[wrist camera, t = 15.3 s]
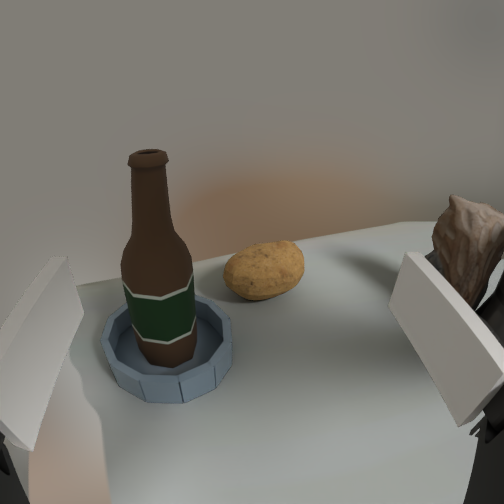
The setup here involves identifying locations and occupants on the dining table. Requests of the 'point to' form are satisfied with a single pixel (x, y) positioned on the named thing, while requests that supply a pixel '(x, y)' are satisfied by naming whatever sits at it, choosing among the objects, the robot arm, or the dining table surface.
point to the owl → (468, 247)
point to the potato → (264, 270)
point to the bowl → (162, 378)
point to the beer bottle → (157, 269)
